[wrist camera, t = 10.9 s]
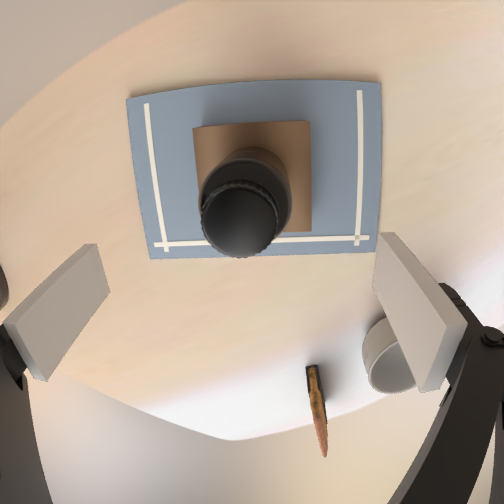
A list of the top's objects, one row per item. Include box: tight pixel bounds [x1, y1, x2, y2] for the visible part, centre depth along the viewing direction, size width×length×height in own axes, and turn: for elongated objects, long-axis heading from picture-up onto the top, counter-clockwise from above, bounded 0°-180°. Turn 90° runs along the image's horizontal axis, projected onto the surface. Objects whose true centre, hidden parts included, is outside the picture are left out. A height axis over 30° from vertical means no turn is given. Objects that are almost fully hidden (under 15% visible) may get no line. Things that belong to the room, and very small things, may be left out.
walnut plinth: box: [192, 120, 312, 232], centre depth 31 cm, size 11×11×4 cm
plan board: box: [126, 80, 382, 259], centre depth 34 cm, size 28×20×1 cm
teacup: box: [362, 317, 417, 394], centre depth 39 cm, size 14×11×8 cm
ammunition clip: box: [306, 365, 328, 457], centre depth 43 cm, size 11×2×12 cm, turn 15°
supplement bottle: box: [198, 146, 292, 258], centre depth 24 cm, size 7×7×12 cm
